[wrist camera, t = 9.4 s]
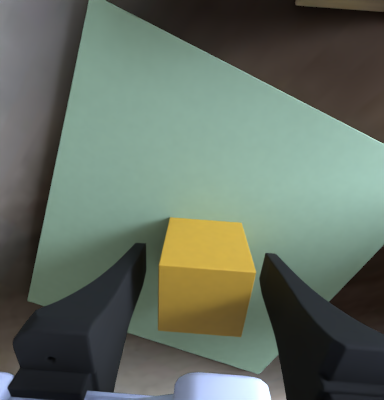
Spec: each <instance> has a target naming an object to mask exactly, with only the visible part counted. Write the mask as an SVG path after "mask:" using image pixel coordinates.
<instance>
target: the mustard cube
mask: <svg viewBox="0 0 384 400" xmlns="http://www.w3.org/2000/svg"><path fill="white" fill-rule="evenodd" d="M255 276H256V270H255V266H254V263H253V260H252V256H251V253H250V249H249V246H248V243H247V239H246V236H245V232H244V229H243V226H242V223H239V222H226V221H213V220H200V219H187V218H174V217H170V219H169V223H168V228H167V232H166V236H165V240H164V244H163V248H162V253H161V257H160V261H159V269H158V331H167V332H180V333H193V334H206V335H218V336H231V337H241V336H242V332H243V328H244V323H245V319H246V315H247V310H248V306H249V302H250V298H251V293H252V289H253V285H254V280H255Z"/></svg>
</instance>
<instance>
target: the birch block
mask: <svg viewBox="0 0 384 400" xmlns="http://www.w3.org/2000/svg"><path fill="white" fill-rule="evenodd" d="M295 5H297V6H311V7H324V8H338V9H351V10H365V11H378V12H384V0H296V1H295Z"/></svg>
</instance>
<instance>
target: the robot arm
mask: <svg viewBox="0 0 384 400" xmlns="http://www.w3.org/2000/svg"><path fill="white" fill-rule="evenodd" d="M145 275H146V243H135V244H134V245H133V246H132V247H131V248H130V249H129V250H128V251H127V252H126V253H125V254H124V255H123V256H122V257H121V258H120V259H119V260H118V261H117V262H116V263H115V264H114V265H113V266H112V267H110V268H109V269H108V270H107V271H106V272H104V273H103V274H102V275H101V276H99V277H98V278H97V279H95V280H94V281H92V282H91V283H89V284H88V285H86V286H84V287H83V288H81V289H80V290H78V291H76V292H74V293H73V294H71V295H69V296H67V297H65V298H63V299H61V300H59V301H56V302H54V303H52V304H50V305H47V306H45V307H42V308H40V309H37V310H36V311H35V312H34V313H33V314H32V315H31V316H30V317H29V319H28V320H27V321H26V323H25V324H24V325H23V327H22V328H21V329H20V331H19V332H18V334H17V335H16V336H15V338H14V340H13V348H14V351H15V354H16V357H17V359H18V362H19V364H20V367H21V368H20V369H19V371H18V372H17V374H16V375H15V376H14V375H12V374H11V373H7V372H0V400H271V398H270V393H269V388H268V385H267V384H265V383H264V382H263V381H262V380H260V379H259V378H255V377H251V376H242V375H229V374H217V373H205V372H193V373H187V374H185V375H183V376H181V377H179V378H178V380H177V382H176V384H175V388H174V394H168V395H160V396H150V395H137V394H125V393H113V391H114V387H115V382H116V377H117V373H118V369H119V364H120V360H121V356H122V351H123V347H124V343H125V339H126V335H127V331H128V327H129V324H130V321H131V318H132V315H133V312H134V309H135V307H136V304H137V301H138V298H139V295H140V293H141V290H142V287H143V283H144V279H145ZM259 281H260V287H261V293H262V297H263V300H264V303H265V306H266V310H267V313H268V316H269V319H270V322H271V325H272V328H273V332H274V335H275V339H276V344H277V349H278V354H279V359H280V364H281V369H282V374H283V380H284V386H285V392H286V399H287V400H384V334H382V333H380V332H378V331H376V330H374V329H372V328H370V327H368V326H366V325H364V324H362V323H361V322H359V321H357V320H355V319H354V318H352V317H350V316H349V315H347V314H346V313H344V312H343V311H341V310H340V309H338V308H337V307H335V306H334V305H332V304H331V303H329V302H328V301H327V300H325V299H324V298H323V297H321V296H320V295H319V294H318V293H316V292H315V291H314V290H313V289H312V288H310V287H309V286H308V285H307V284H306V283H305V282H304V281H303V280H302V279H300V278H299V277H298V276H297V275H296V274H295V273H294V272H293V271H292V270H291V269H290V268H289V267H288V266H287V265H286V264H285V263H284V262H283V260H282V259H281V258H280V257H279V256H278V255H277V254H275V253H265V257H264V261H263V265H262V269H261V273H260V277H259Z"/></svg>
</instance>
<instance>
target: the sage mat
mask: <svg viewBox="0 0 384 400" xmlns="http://www.w3.org/2000/svg"><path fill="white" fill-rule="evenodd" d="M170 217H174V218H187V219H200V220H213V221H226V222H239V223H242V226H243V229H244V232H245V236H246V239H247V243H248V246H249V249H250V253H251V256H252V260H253V263H254V266H255V270H256V276H255V280H254V285H253V289H252V293H251V298H250V302H249V306H248V310H247V315H246V319H245V323H244V328H243V332H242V336H241V337H231V336H218V335H206V334H193V333H180V332H167V331H158V269H159V261H160V257H161V253H162V248H163V244H164V240H165V236H166V232H167V228H168V223H169V219H170ZM135 243H146V275H145V279H144V283H143V287H142V290H141V293H140V295H139V298H138V301H137V304H136V307H135V309H134V312H133V315H132V318H131V321H130V324H129V327H128V331H127V333H130V334H133V335H136V336H140V337H143V338H146V339H149V340H152V341H155V342H158V343H162V344H165V345H168V346H171V347H174V348H177V349H180V350H184V351H187V352H190V353H193V354H196V355H199V356H202V357H206V358H209V359H212V360H215V361H218V362H221V363H224V364H228V365H231V366H234V367H237V368H240V369H243V370H247V371H250V372H253V373H256V374H260V373H261V372H262V371H263V370H264V369H265V368H266V367H267V366H268V365H269V363H270V362H271V361H272V360H273V359H274V358H275V357H276V356H277V355H278V349H277V344H276V339H275V335H274V332H273V328H272V325H271V322H270V319H269V316H268V313H267V310H266V306H265V303H264V300H263V297H262V293H261V287H260V281H259V277H260V273H261V269H262V265H263V261H264V257H265V253H275V254H277V255H278V256H279V257H280V258H281V259H282V260H283V262H284V263H285V264H286V265H287V266H288V267H289V268H290V269H291V270H292V271H293V272H294V273H295V274H296V275H297V276H298V277H299V278H300V279H302V280H303V281H304V282H305V283H306V284H307V285H308V286H309V287H310V288H312V289H313V290H314V291H315V292H316V293H318V294H319V295H320V296H321V297H323V298H324V299H325V300H327V301H328V302H329V301H330V300H331V299H332V298H333V297H334V296H335V295H336V294H337V293H338V292H339V291H340V290H341V289H342V288H343V287H344V286H345V285H346V283H347V282H348V281H349V280H350V279H351V278H352V277H353V276H354V275H355V274H356V273H357V272H358V271H359V270H360V269H361V268H362V267H363V266H364V265H365V264H366V263H367V262H368V261H369V260H370V259H371V258H372V256H373V255H374V254H375V253H376V252H377V251H378V250H379V249H380V248H381V247H382V246H383V245H384V144H383V143H381V142H379V141H377V140H375V139H373V138H371V137H369V136H367V135H365V134H363V133H361V132H359V131H358V130H356V129H354V128H352V127H350V126H348V125H346V124H344V123H342V122H340V121H338V120H336V119H334V118H332V117H330V116H328V115H327V114H325V113H323V112H321V111H319V110H317V109H315V108H313V107H311V106H309V105H307V104H305V103H303V102H301V101H299V100H297V99H296V98H294V97H292V96H290V95H288V94H286V93H284V92H282V91H280V90H278V89H276V88H274V87H272V86H270V85H268V84H266V83H265V82H263V81H261V80H259V79H257V78H255V77H253V76H251V75H249V74H247V73H245V72H243V71H241V70H239V69H237V68H235V67H233V66H232V65H230V64H228V63H226V62H224V61H222V60H220V59H218V58H216V57H214V56H212V55H210V54H208V53H206V52H204V51H202V50H201V49H199V48H197V47H195V46H193V45H191V44H189V43H187V42H185V41H183V40H181V39H179V38H177V37H175V36H173V35H171V34H170V33H168V32H166V31H164V30H162V29H160V28H158V27H156V26H154V25H152V24H150V23H148V22H146V21H144V20H142V19H140V18H139V17H137V16H135V15H133V14H131V13H129V12H127V11H125V10H123V9H121V8H119V7H117V6H115V5H113V4H111V3H109V2H108V1H106V0H89V2H88V7H87V11H86V16H85V21H84V26H83V31H82V36H81V41H80V46H79V51H78V55H77V60H76V65H75V70H74V75H73V80H72V85H71V90H70V95H69V99H68V104H67V109H66V114H65V119H64V124H63V129H62V134H61V139H60V144H59V148H58V153H57V158H56V163H55V168H54V173H53V178H52V183H51V188H50V192H49V197H48V202H47V207H46V212H45V217H44V222H43V227H42V232H41V236H40V241H39V246H38V251H37V256H36V261H35V266H34V271H33V276H32V280H31V285H30V290H29V295H28V300H27V301H29V302H33V303H36V304H39V305H42V306H47V305H50V304H52V303H54V302H56V301H59V300H61V299H63V298H65V297H67V296H69V295H71V294H73V293H74V292H76V291H78V290H80V289H81V288H83V287H84V286H86V285H88V284H89V283H91V282H92V281H94V280H95V279H97V278H98V277H99V276H101V275H102V274H103V273H104V272H106V271H107V270H108V269H109V268H110V267H112V266H113V265H114V264H115V263H116V262H117V261H118V260H119V259H120V258H121V257H122V256H123V255H124V254H125V253H126V252H127V251H128V250H129V249H130V248H131V247H132V246H133V245H134V244H135Z"/></svg>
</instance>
